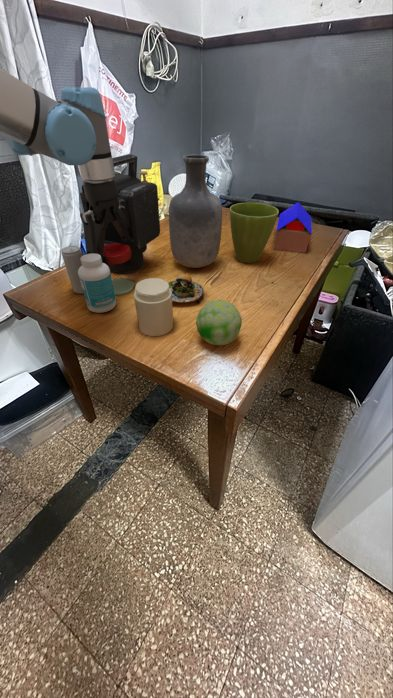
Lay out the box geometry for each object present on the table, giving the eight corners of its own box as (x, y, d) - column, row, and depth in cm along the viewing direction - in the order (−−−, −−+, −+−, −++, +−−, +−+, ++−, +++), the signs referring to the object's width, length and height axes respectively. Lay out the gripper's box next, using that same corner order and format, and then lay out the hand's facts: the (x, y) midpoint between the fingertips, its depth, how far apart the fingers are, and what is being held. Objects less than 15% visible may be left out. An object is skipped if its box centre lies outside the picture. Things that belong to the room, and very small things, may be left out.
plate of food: (152, 296, 80) (149, 271, 75) (181, 281, 86) (181, 257, 81) (183, 313, 74) (183, 287, 69) (212, 295, 80) (214, 270, 75)
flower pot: (248, 246, 106) (254, 199, 96) (278, 260, 98) (289, 211, 87) (217, 256, 100) (220, 207, 89) (246, 272, 91) (254, 220, 80)
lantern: (119, 251, 102) (102, 150, 82) (164, 261, 97) (157, 155, 77) (92, 269, 91) (65, 157, 71) (140, 281, 86) (125, 164, 66)
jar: (146, 340, 65) (141, 299, 58) (133, 321, 71) (127, 282, 64) (179, 329, 69) (177, 289, 61) (164, 312, 74) (161, 273, 67)
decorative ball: (237, 328, 69) (242, 291, 63) (239, 356, 62) (245, 318, 55) (197, 326, 70) (197, 290, 63) (194, 353, 62) (194, 316, 55)
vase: (207, 251, 103) (210, 150, 83) (227, 270, 92) (237, 159, 72) (164, 258, 98) (157, 153, 78) (180, 278, 87) (177, 163, 67)
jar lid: (136, 252, 79) (135, 245, 78) (121, 266, 73) (120, 258, 72) (109, 249, 81) (107, 241, 80) (92, 262, 75) (90, 254, 74)
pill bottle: (122, 302, 77) (113, 254, 68) (104, 317, 72) (93, 267, 63) (100, 296, 79) (88, 248, 70) (81, 309, 74) (66, 260, 65)
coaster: (109, 297, 79) (109, 295, 78) (101, 284, 84) (100, 282, 84) (138, 290, 82) (137, 288, 82) (128, 278, 87) (128, 276, 87)
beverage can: (78, 296, 79) (65, 254, 71) (70, 290, 82) (57, 248, 74) (94, 290, 82) (83, 249, 74) (86, 284, 84) (75, 244, 76)
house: (272, 249, 105) (279, 215, 97) (276, 230, 119) (282, 200, 112) (306, 253, 102) (316, 219, 95) (306, 234, 117) (314, 203, 109)
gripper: (118, 169, 73) (132, 254, 88) (48, 188, 59) (79, 284, 75) (141, 172, 70) (152, 259, 85) (73, 192, 57) (100, 292, 72)
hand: (118, 271), depth 80 cm, fingers closed on jar lid, 8 cm apart
